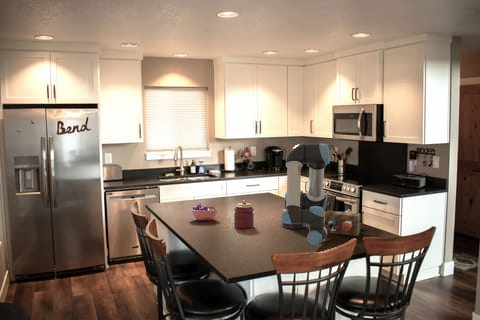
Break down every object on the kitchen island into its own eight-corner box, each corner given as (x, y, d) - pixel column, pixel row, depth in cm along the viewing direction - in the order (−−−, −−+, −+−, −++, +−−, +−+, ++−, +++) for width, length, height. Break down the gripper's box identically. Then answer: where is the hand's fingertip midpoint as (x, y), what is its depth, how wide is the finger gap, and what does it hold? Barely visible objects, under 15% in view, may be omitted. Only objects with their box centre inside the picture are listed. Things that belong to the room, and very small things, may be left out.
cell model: (215, 223, 291) (215, 207, 290) (186, 222, 295) (186, 206, 294) (221, 218, 307) (221, 202, 306) (194, 217, 311) (194, 201, 310)
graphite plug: (327, 226, 265) (327, 218, 264) (332, 222, 276) (332, 214, 276) (335, 227, 263) (336, 219, 262) (340, 223, 274) (340, 214, 274)
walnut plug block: (324, 232, 269) (324, 213, 268) (327, 229, 276) (328, 210, 275) (357, 235, 260) (357, 216, 259) (359, 232, 267) (360, 213, 266)
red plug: (341, 231, 254) (341, 222, 254) (345, 226, 266) (346, 217, 265) (350, 232, 252) (350, 223, 252) (354, 227, 263) (354, 218, 263)
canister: (236, 230, 273) (236, 202, 272) (231, 225, 286) (231, 199, 284) (256, 229, 277) (256, 201, 275) (250, 224, 289) (250, 198, 288)
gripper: (309, 237, 245) (320, 227, 267) (332, 239, 240) (342, 230, 261) (309, 224, 245) (321, 215, 266) (333, 226, 239) (342, 217, 260)
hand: (331, 222), depth 263 cm, fingers closed
